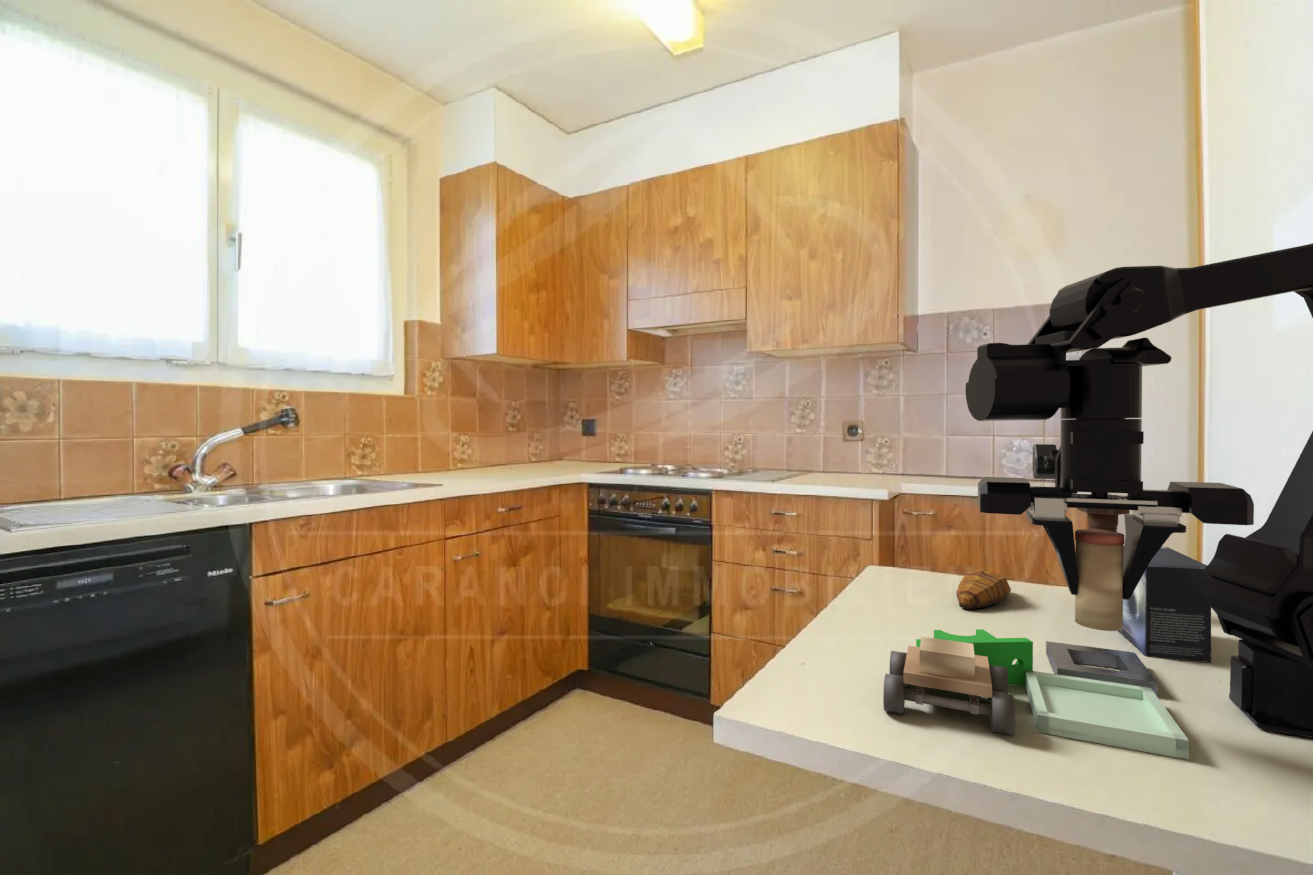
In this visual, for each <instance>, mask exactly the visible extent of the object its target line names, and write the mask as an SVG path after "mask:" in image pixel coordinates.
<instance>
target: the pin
mask: <svg viewBox="0 0 1313 875" xmlns="http://www.w3.org/2000/svg"><path fill="white" fill-rule="evenodd" d="M1074 541H1075V553H1076V564H1077V574H1078V588H1077V595H1074V597H1075V598H1074V602H1075V603H1074V622H1075V623H1076V624H1077V625H1079V626H1082V627H1083V628H1088V629H1092V630H1098V631H1105V632H1106V631H1108V632H1118V630H1121V629H1122V628H1123V546H1124V545H1125V533H1121V532H1118V531H1117V532H1113V531H1106V530H1093V529H1089V528H1087V529H1085V528H1084V529H1082V528H1081V529H1076V530H1075V531H1074Z"/></svg>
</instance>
